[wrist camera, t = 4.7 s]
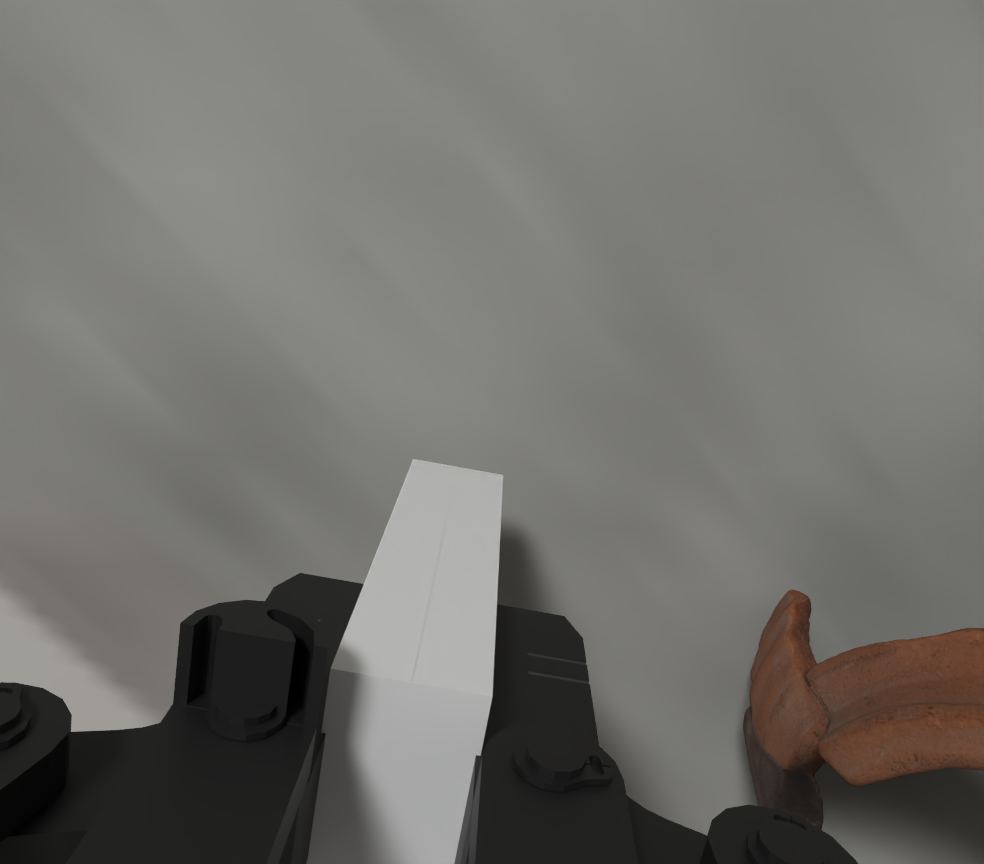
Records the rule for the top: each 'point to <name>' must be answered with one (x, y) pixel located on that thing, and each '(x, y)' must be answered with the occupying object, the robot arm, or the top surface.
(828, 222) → the top surface
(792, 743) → the broken pottery fragment
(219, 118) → the top surface
